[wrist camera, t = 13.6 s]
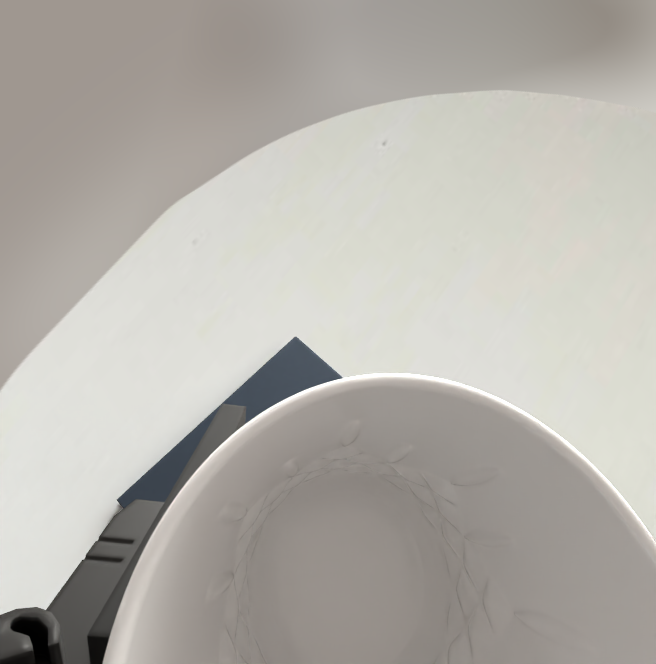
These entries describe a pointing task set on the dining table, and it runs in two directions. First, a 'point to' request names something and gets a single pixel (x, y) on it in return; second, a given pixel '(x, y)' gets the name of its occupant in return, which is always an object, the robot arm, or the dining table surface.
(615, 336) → the dining table surface
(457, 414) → the white cup
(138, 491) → the place mat
